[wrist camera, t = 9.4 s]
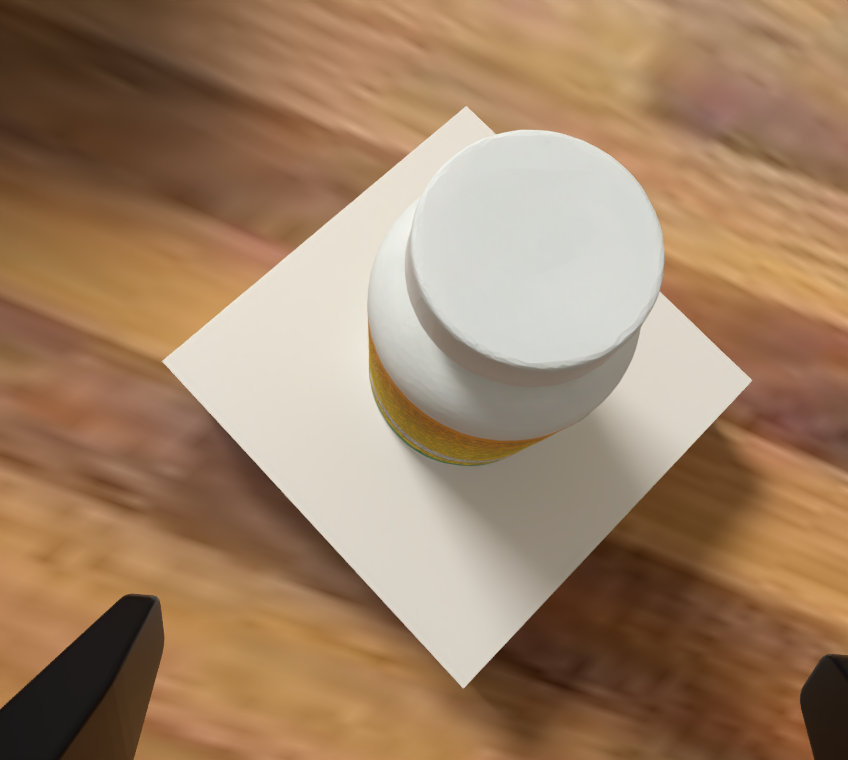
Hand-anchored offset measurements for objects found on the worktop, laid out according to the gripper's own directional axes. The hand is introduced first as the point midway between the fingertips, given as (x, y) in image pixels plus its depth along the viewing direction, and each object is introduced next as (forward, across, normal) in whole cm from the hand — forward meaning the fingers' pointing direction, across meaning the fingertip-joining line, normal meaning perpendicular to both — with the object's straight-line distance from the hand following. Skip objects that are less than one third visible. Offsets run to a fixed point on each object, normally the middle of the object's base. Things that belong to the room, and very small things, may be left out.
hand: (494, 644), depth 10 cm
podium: (+14, 0, +5) cm, 14 cm away
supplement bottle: (+11, 0, +3) cm, 11 cm away
